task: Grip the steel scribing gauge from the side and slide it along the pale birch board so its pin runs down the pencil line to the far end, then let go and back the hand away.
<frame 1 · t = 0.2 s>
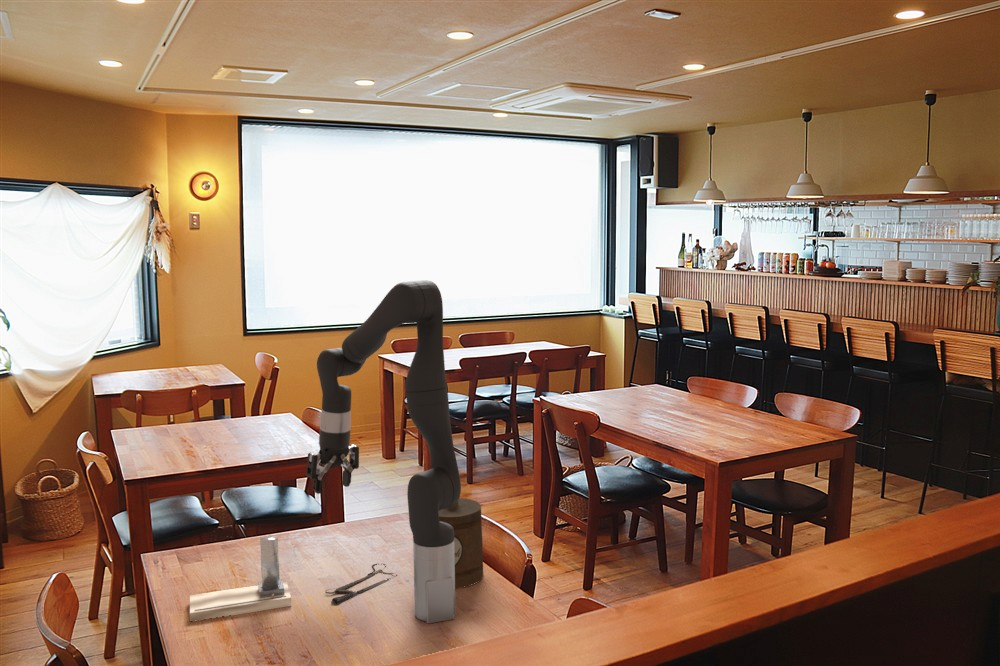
hand: (331, 489, 208), 22 cm above the table, tool pointing down, fingers open, 8 cm apart
wooden container: (453, 577, 208), on the table
birch board: (240, 604, 193), on the table
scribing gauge: (271, 591, 195), point 2 cm above the table, touching birch board
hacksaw: (358, 585, 205), on the table
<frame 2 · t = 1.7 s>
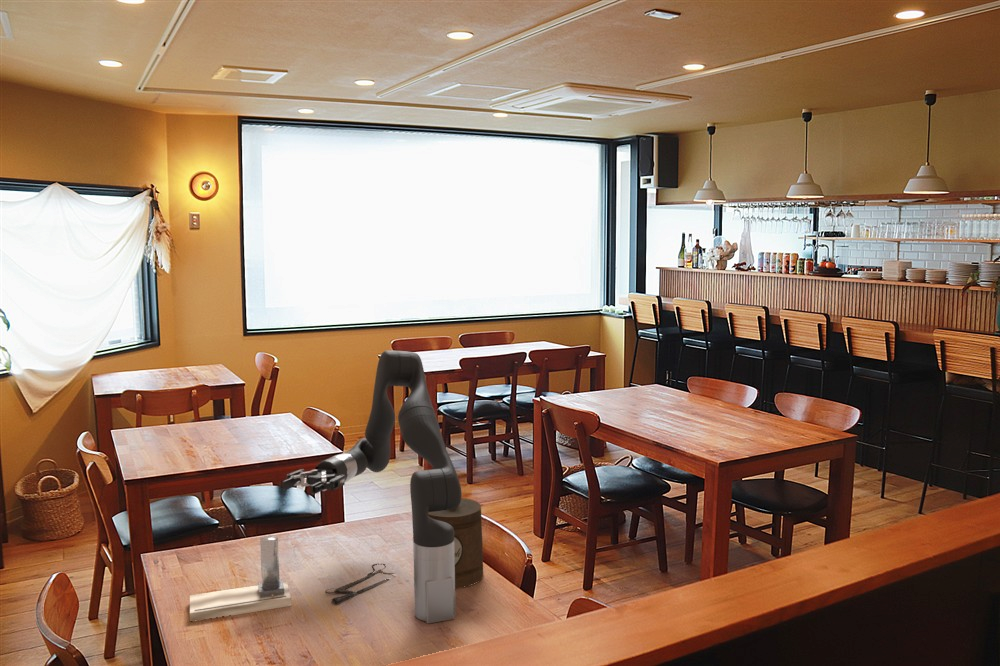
hand: (297, 488, 203), 24 cm above the table, tool horizontal, fingers open, 8 cm apart
nothing on the table moved.
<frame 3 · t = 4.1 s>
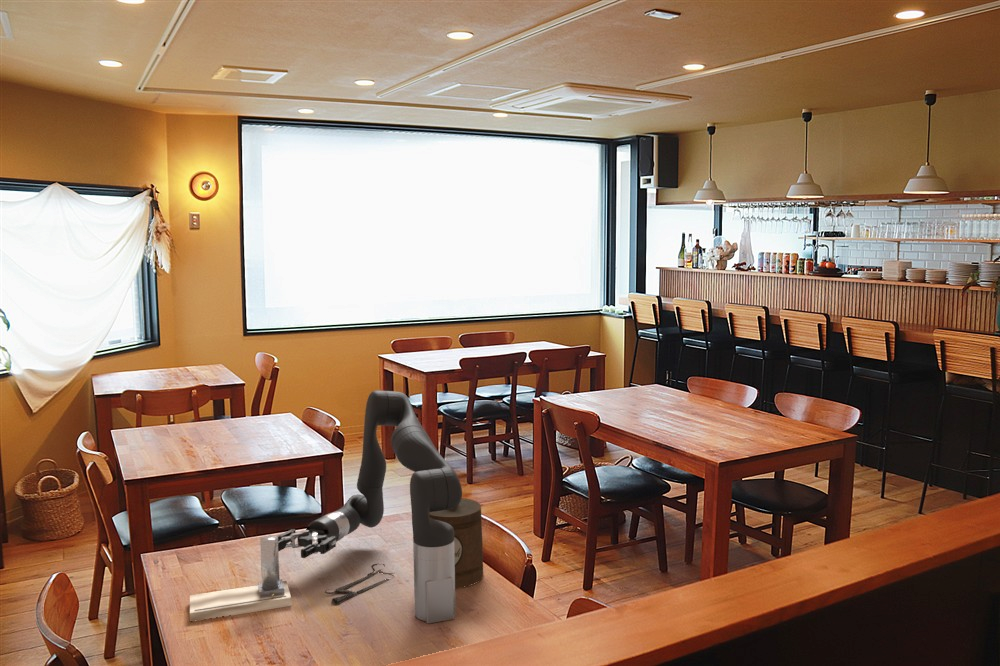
hand: (287, 551, 200), 9 cm above the table, tool horizontal, fingers open, 8 cm apart
nothing on the table moved.
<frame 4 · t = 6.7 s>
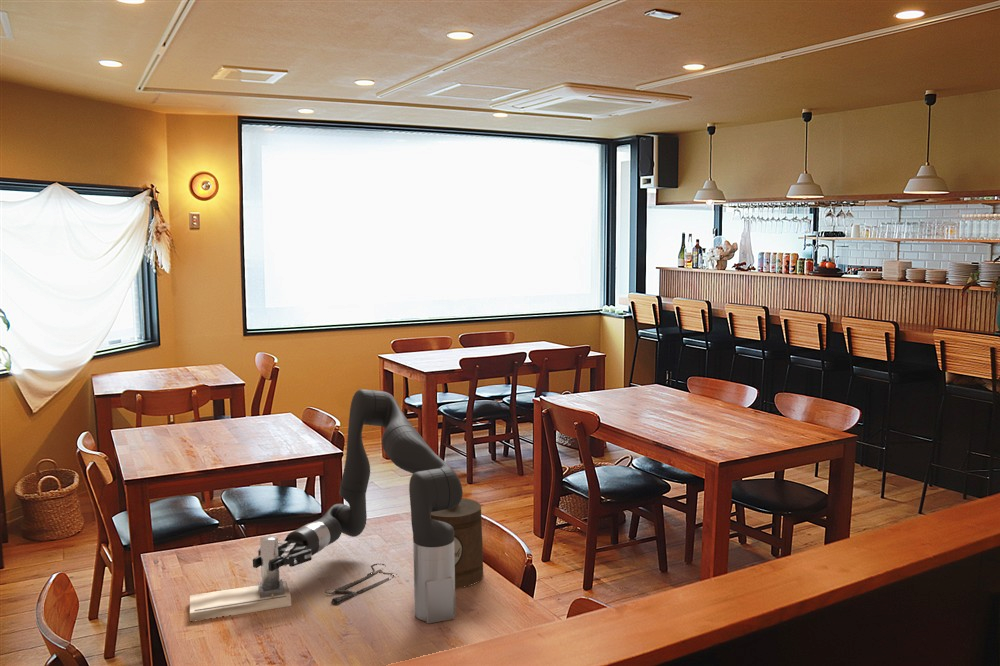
hand: (262, 565, 192), 10 cm above the table, tool horizontal, fingers closed on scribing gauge, 4 cm apart
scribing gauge: (271, 591, 195), point 2 cm above the table, touching birch board, gripper
everything else where it was.
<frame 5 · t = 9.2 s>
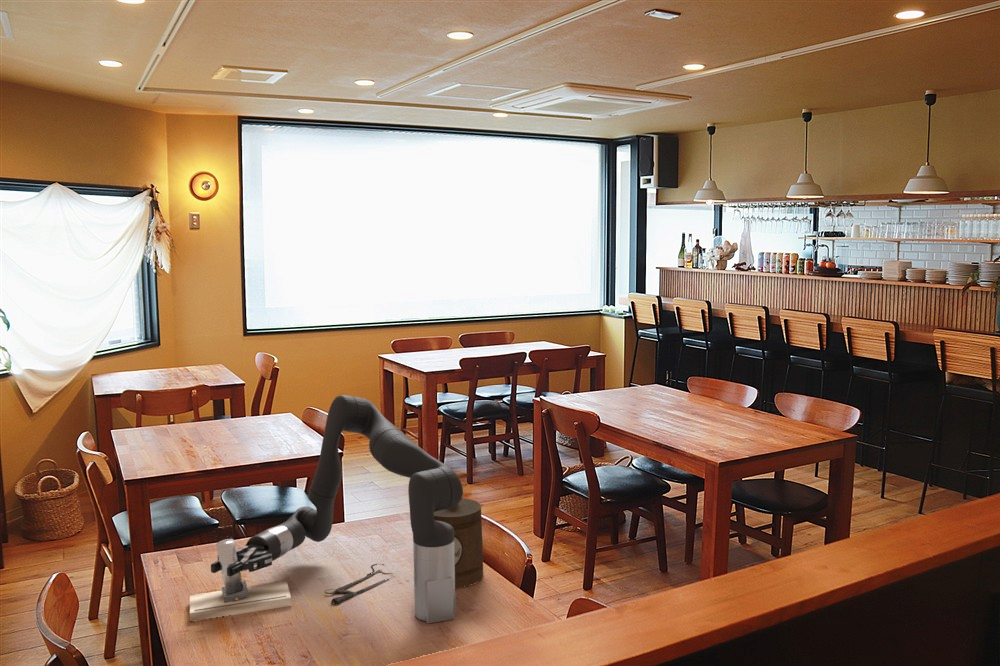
hand: (220, 570, 189), 10 cm above the table, tool horizontal, fingers closed on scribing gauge, 4 cm apart
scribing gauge: (235, 594, 193), point 2 cm above the table, tilted 8°, touching gripper
everything else where it was.
when the fingers open (10 cm above the table, at t = 11.7 s): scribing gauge stays where it is, resting on birch board.
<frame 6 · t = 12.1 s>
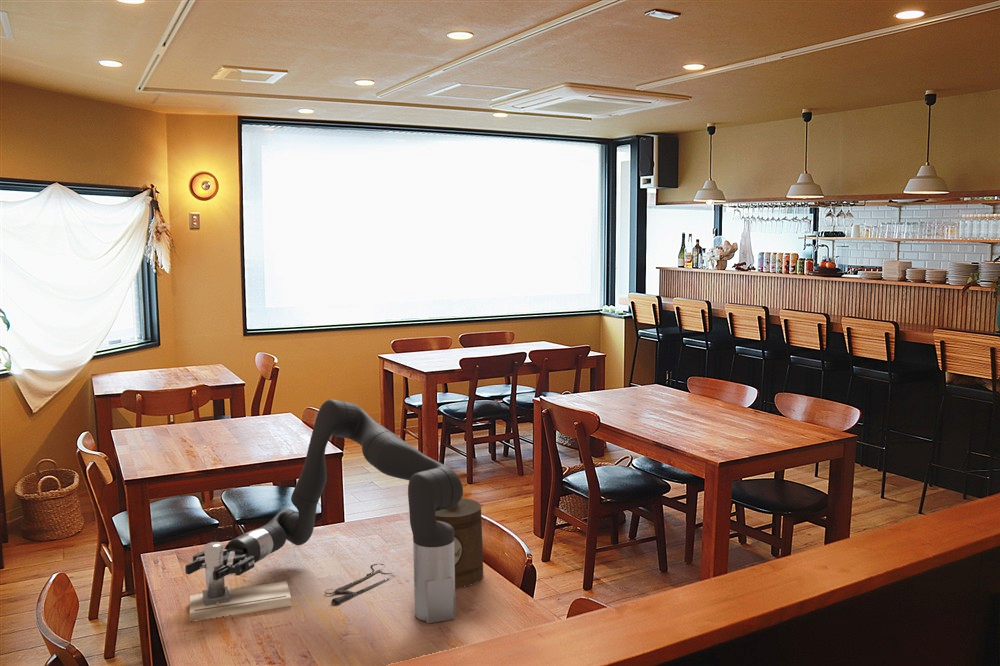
hand: (200, 573, 188), 9 cm above the table, tool horizontal, fingers open, 8 cm apart
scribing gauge: (216, 599, 191), point 2 cm above the table, touching birch board
everything else where it was.
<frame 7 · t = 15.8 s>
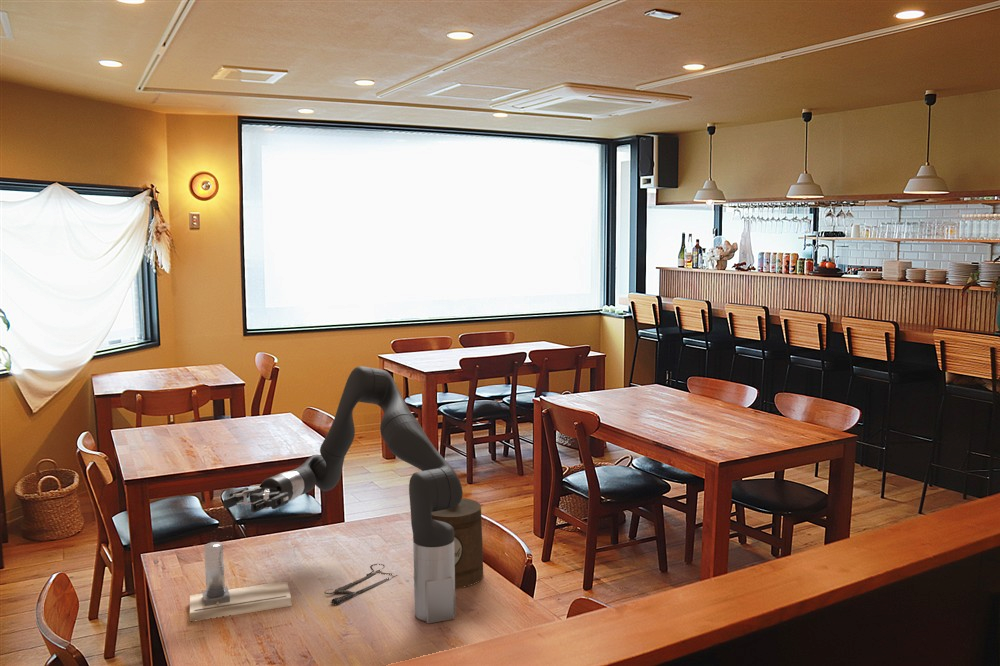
hand: (238, 506, 198), 21 cm above the table, tool horizontal, fingers open, 8 cm apart
nothing on the table moved.
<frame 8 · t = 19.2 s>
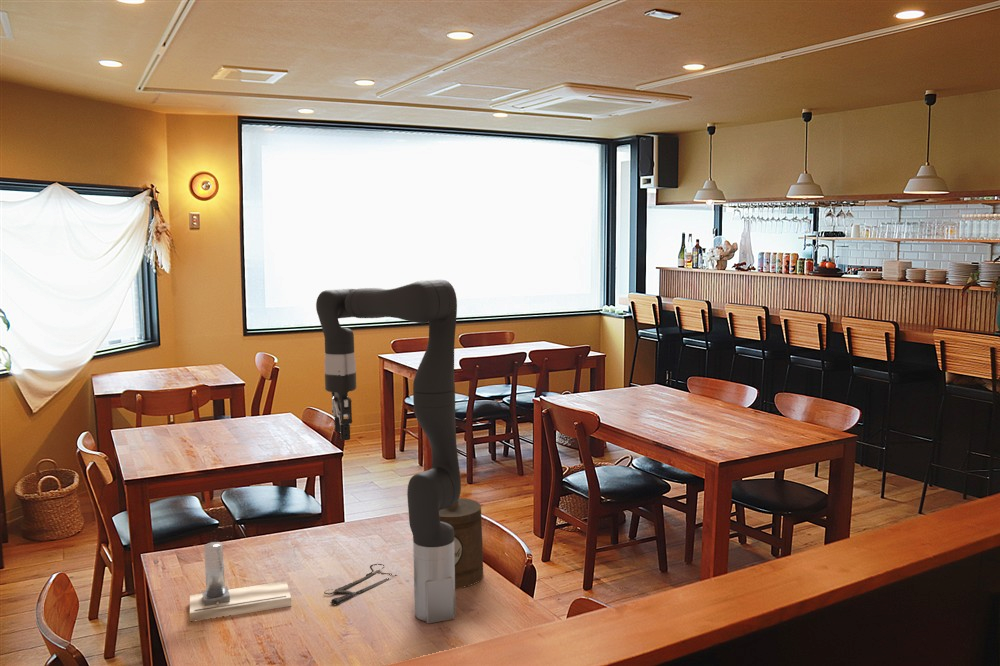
hand: (342, 435, 204), 36 cm above the table, tool pointing down, fingers open, 8 cm apart
nothing on the table moved.
at the end: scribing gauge inside the target area (1.3 cm from its centre), point 2.0 cm above the table; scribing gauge tilted 0°; the gripper is holding nothing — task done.
